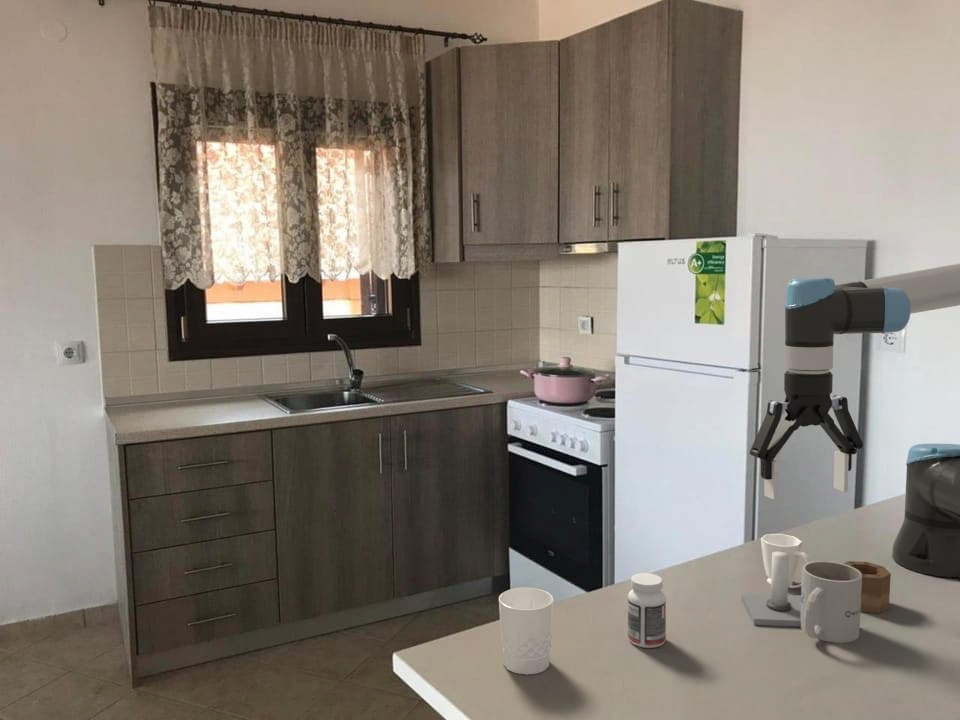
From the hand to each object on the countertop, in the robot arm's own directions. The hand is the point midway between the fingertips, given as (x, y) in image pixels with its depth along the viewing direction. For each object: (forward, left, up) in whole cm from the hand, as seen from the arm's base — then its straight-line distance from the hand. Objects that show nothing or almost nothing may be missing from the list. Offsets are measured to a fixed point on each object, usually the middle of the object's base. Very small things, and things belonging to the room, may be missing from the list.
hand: (806, 493), depth 137 cm
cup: (+2, -4, -18) cm, 19 cm away
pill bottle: (+28, +19, -18) cm, 39 cm away
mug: (+1, +14, -19) cm, 24 cm away
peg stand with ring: (+6, +7, -18) cm, 20 cm away
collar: (-9, +2, -18) cm, 21 cm away
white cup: (+46, +28, -18) cm, 57 cm away
